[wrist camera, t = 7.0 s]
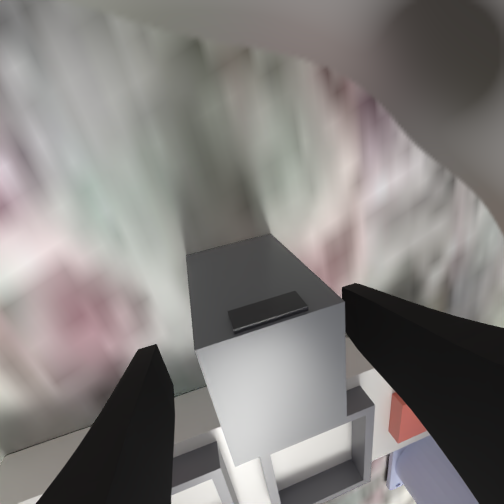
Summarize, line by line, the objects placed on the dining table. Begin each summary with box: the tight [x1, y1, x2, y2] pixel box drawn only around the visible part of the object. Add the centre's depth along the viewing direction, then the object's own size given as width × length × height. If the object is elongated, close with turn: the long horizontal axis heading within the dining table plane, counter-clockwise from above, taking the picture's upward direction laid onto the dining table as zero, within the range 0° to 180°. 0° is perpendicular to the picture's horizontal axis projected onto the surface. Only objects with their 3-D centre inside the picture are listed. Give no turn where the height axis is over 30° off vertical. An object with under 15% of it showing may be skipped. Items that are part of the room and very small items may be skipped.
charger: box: [186, 234, 347, 467], centre depth 10 cm, size 4×5×6 cm
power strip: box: [0, 337, 430, 504], centre depth 15 cm, size 24×9×4 cm, turn 99°
